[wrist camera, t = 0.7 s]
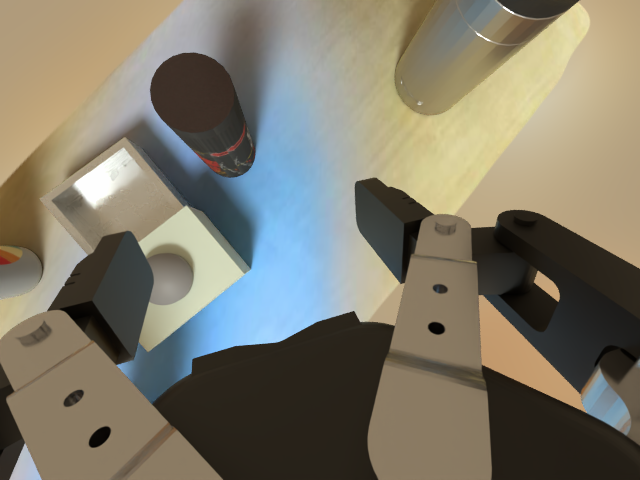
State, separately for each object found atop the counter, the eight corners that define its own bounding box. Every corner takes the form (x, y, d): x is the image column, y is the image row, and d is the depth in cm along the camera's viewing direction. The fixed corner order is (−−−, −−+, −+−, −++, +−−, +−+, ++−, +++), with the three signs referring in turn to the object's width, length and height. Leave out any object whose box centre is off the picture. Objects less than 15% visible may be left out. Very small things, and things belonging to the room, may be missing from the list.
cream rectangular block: (202, 211, 37) (183, 204, 30) (251, 269, 38) (242, 275, 31) (119, 276, 36) (79, 283, 29) (170, 334, 36) (143, 356, 29)
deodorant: (264, 163, 38) (249, 111, 23) (220, 186, 37) (175, 147, 22) (240, 120, 38) (209, 39, 23) (195, 142, 37) (134, 73, 22)
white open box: (141, 148, 36) (124, 136, 33) (198, 215, 37) (187, 211, 33) (65, 203, 35) (39, 199, 32) (124, 272, 36) (105, 275, 32)
